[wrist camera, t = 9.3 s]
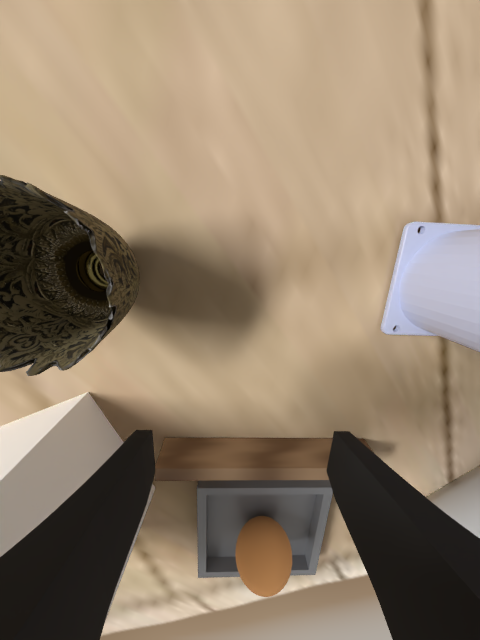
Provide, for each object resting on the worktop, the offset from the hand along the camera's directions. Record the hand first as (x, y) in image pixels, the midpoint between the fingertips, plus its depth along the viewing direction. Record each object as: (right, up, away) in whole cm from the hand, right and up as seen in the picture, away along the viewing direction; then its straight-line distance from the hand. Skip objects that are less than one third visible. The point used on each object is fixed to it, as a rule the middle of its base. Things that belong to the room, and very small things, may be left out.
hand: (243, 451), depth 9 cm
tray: (+2, -15, +14) cm, 21 cm away
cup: (-9, +9, +7) cm, 14 cm away
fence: (+2, -6, +12) cm, 13 cm away
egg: (+2, -15, +11) cm, 19 cm away
